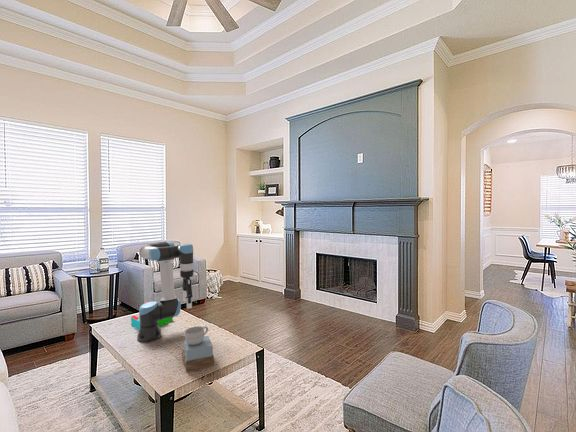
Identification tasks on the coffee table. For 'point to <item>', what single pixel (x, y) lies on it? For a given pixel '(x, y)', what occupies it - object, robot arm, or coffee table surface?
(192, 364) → the base block
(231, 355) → the coffee table surface
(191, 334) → the teacup
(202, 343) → the top block
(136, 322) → the building blocks toy
